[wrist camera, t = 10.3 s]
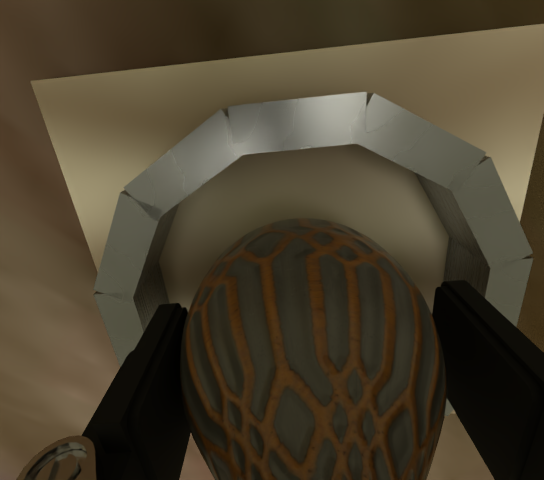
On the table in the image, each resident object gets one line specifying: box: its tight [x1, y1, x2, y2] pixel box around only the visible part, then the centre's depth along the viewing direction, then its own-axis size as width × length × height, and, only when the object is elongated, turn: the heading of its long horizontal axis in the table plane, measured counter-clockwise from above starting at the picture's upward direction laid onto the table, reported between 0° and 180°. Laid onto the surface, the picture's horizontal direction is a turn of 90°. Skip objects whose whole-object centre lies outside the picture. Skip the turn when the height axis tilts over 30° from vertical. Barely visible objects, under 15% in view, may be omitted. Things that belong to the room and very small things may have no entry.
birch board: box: [30, 24, 544, 414], centre depth 13 cm, size 16×16×1 cm
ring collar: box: [93, 91, 533, 416], centre depth 12 cm, size 13×13×2 cm
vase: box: [180, 218, 447, 480], centre depth 9 cm, size 7×7×9 cm
